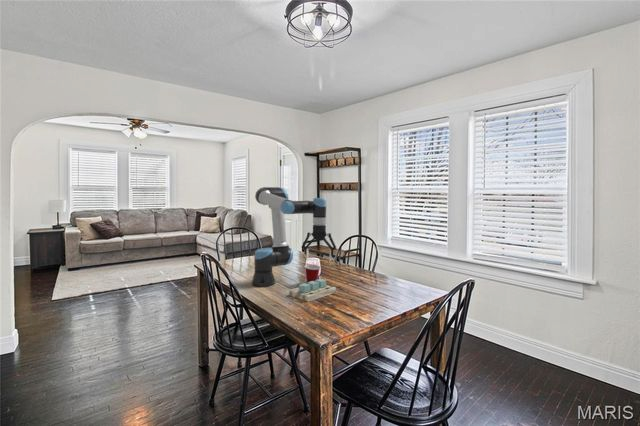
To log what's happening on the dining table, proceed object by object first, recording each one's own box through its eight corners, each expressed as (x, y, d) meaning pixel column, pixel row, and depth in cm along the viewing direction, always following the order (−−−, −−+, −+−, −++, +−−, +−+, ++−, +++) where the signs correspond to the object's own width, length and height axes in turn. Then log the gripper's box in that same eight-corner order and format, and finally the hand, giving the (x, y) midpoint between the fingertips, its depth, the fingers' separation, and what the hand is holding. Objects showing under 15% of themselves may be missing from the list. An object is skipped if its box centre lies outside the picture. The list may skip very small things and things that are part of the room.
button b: (307, 288, 192) (307, 282, 192) (312, 287, 196) (312, 280, 195) (313, 290, 189) (313, 284, 189) (318, 288, 192) (318, 282, 192)
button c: (315, 286, 197) (315, 280, 197) (320, 284, 201) (320, 278, 201) (321, 288, 194) (321, 281, 194) (326, 286, 198) (326, 280, 197)
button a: (298, 291, 187) (298, 284, 187) (304, 289, 191) (304, 283, 190) (304, 293, 184) (304, 286, 184) (310, 291, 187) (310, 284, 187)
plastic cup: (314, 287, 206) (314, 268, 205) (300, 284, 212) (301, 266, 212) (323, 283, 215) (323, 265, 214) (310, 280, 221) (310, 263, 220)
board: (289, 295, 189) (289, 290, 189) (316, 286, 207) (316, 282, 206) (308, 301, 178) (308, 296, 178) (335, 292, 196) (335, 287, 196)
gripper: (297, 224, 183) (296, 261, 185) (340, 225, 180) (339, 262, 182) (299, 223, 191) (298, 258, 192) (341, 224, 188) (340, 260, 189)
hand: (318, 260), depth 187 cm, fingers open, 13 cm apart
